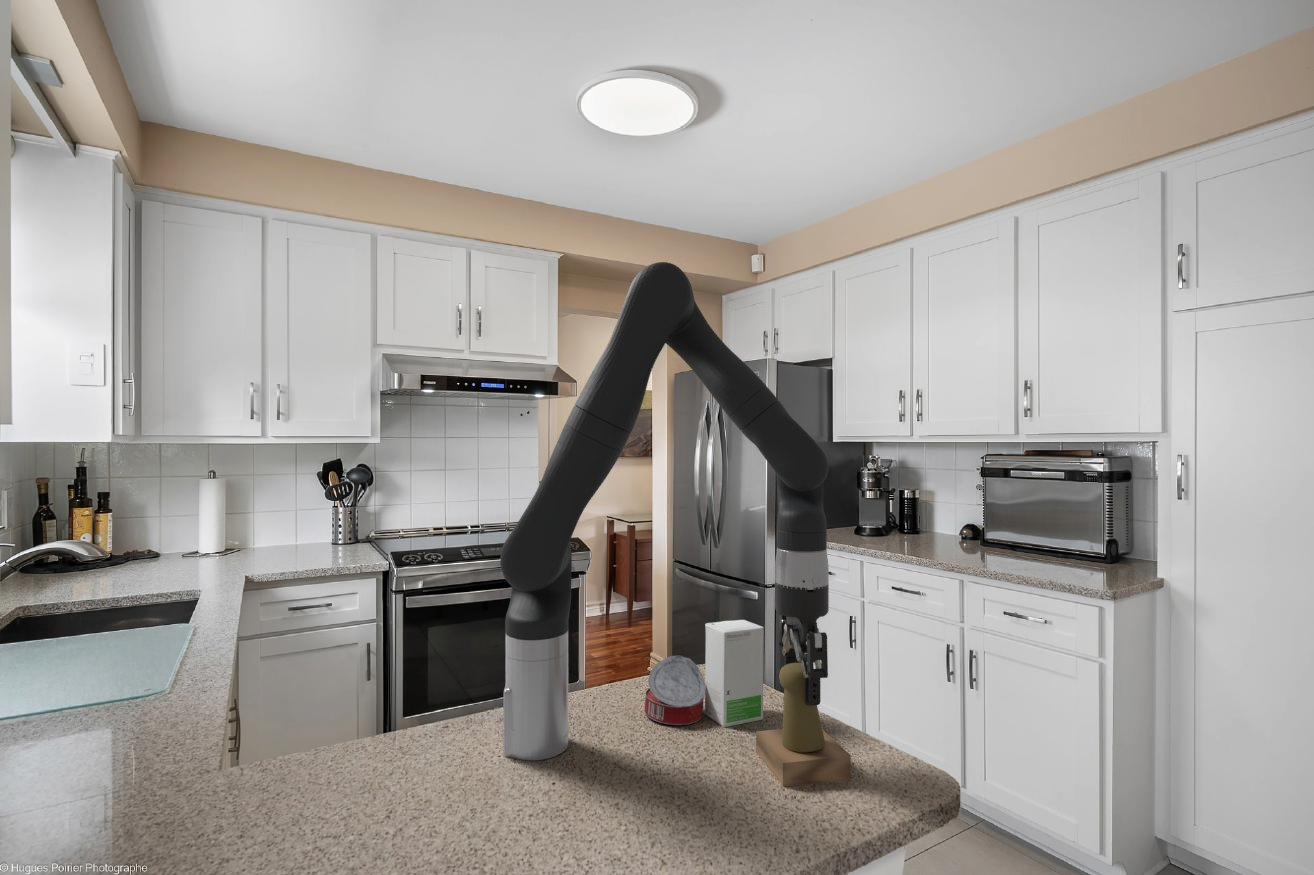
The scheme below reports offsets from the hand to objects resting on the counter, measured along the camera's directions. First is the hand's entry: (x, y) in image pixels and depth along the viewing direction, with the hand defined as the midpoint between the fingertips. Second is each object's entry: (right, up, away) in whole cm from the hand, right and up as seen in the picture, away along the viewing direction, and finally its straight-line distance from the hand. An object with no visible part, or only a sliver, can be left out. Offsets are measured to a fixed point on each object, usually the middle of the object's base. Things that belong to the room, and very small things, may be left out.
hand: (801, 692), depth 96 cm
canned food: (-20, -11, +18) cm, 29 cm away
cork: (0, -7, -1) cm, 7 cm away
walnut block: (0, -11, 0) cm, 11 cm away
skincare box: (-8, -11, +17) cm, 22 cm away
